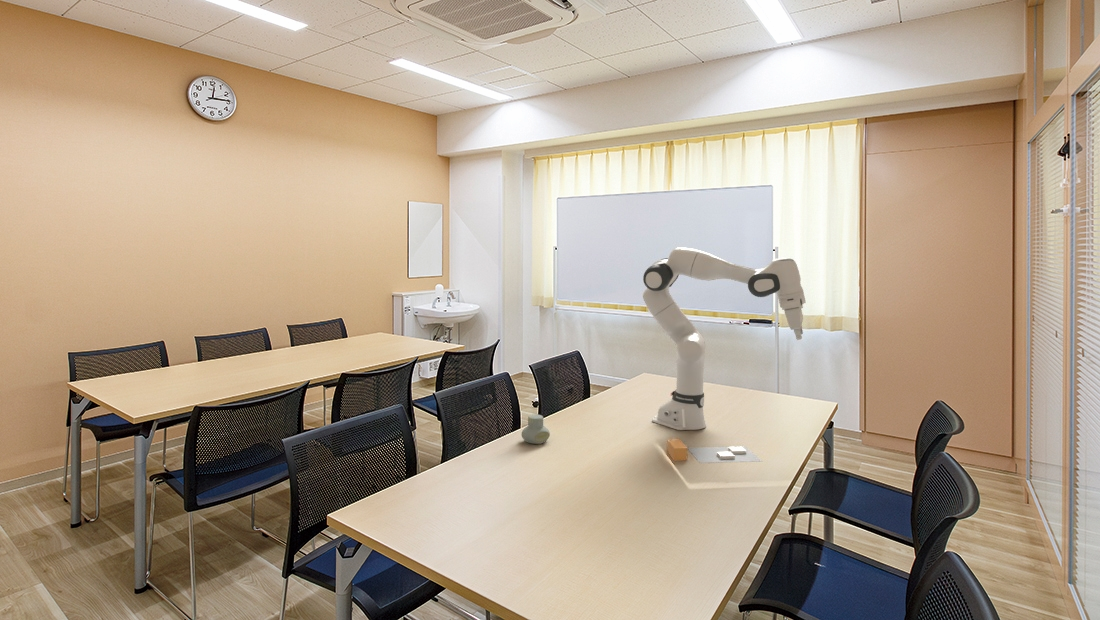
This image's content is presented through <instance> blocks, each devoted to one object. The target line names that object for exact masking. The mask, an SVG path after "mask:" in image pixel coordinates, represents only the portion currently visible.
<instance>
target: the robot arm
mask: <svg viewBox="0 0 1100 620" xmlns="http://www.w3.org/2000/svg"><path fill="white" fill-rule="evenodd" d="M796 262H797V261H796V260H794V259H793V258H791V257H780V258H774V259H772V261H771V262H770V263H769V264H767V266H765V267H763V268H757V269H756V268H750V267H746V266H744V265H739V264H736V263H731V262H729V261H726V260H724V259H722V258H719V257H717V256H715V255H713V254H711V253H709V252H706V251H702V250H698V249H695V248H689V247H676V248H674V249H672V250H671V252H670V254H669V256H668V258H662V259H660V260H657V261H655V262H653V263H652V264H651V265H650V266H649V267H648V268H647V269H646V270H645V271H644V273H643V276H642V277H643V279H642V280H643V283H644V285H645V287H646V289H645V290H644V292H643V294H642V299H643V301H644V304H645V305H646V307H647V309H648V310H649V312H650V314H651V316H652V317H653V318H654V320H655V321H656V323H657V324H658V326H659V327H660V328H661V329H662V331H663V332H664V333H665V334H666V335H667V336H668V337H669V338H670V340H671V341H672V343H673V344H675V345H676V382H675V383H676V384H675V385H676V387H675V389H674V390H673V391H672V392H670V396H672V397H671V398H670V399H669V400H667V401H666V402H664V403H663V404H661V405H660V406H659V408H658V411H657V414H655V415H654V416H652V419H651V422H653V423H655V424H659V425H661V426H664V427H667V428H671V429H674V430H677V431H685V430H686V431H687V430H689V431H694V430H695V431H696V430H702V429H704V428H706V427H707V424H706V420H705V414H704V406H705V393H704V382H705V381H704V378H705V351H706V342H705V339H704V337H703V336H702V334H701V333H700V332H699V331H698V329H697V328H696V327H695V325H694V324H693V323H692V322H691V321H690V319H689V318H688V317H687V315H685V313H684V312H683V310H682V309H681V307H680V306H679V305H678V303H677V302H676V301H675V299H674V298H673V297H672V294H671V293H670V288H671V287H672V286H673V285H674V283H675V282H676V281H677V279H679V275H680V276H687V277H689V278H692V279H695V280H701V281H708V282H709V281H716V280H724V279H725V280H732V281H734V282H739V283H743V284H745V285H747V288H748V290H749V293H751V295H753V296H754V297H758V298H765V297H768V296H770V295H772V294H777V299H778V304H779V307H780V308H781V310H782V311H783V310H784V311H783V312H784V315H785V318H786V321H787V323H788V326H789V329H790V330H793V333H794V335H795V340H796V341H799V340H802V338H803V337H802V335H804V334H803V333H804V331H803V321H804V313H803V310H802V309H803V308H804V306H803V305H804V304H806V298H805V293H804V288H803V287H802V284H801V279H802V278H801V275H800V270H799V268H798V264H797V263H796Z"/></svg>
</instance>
